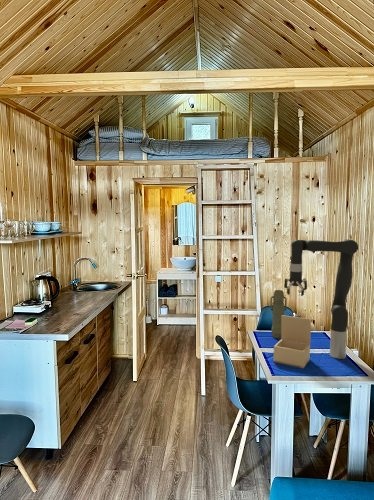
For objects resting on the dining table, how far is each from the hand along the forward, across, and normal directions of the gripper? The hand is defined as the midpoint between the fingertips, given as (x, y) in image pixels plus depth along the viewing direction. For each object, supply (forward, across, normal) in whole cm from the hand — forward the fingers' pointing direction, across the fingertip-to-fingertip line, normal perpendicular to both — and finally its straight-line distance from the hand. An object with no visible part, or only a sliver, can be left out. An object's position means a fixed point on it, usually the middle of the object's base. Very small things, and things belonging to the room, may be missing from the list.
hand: (295, 295), depth 238 cm
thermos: (+38, +19, -28) cm, 51 cm away
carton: (+38, -3, +16) cm, 41 cm away
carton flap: (+20, -3, +9) cm, 22 cm away
